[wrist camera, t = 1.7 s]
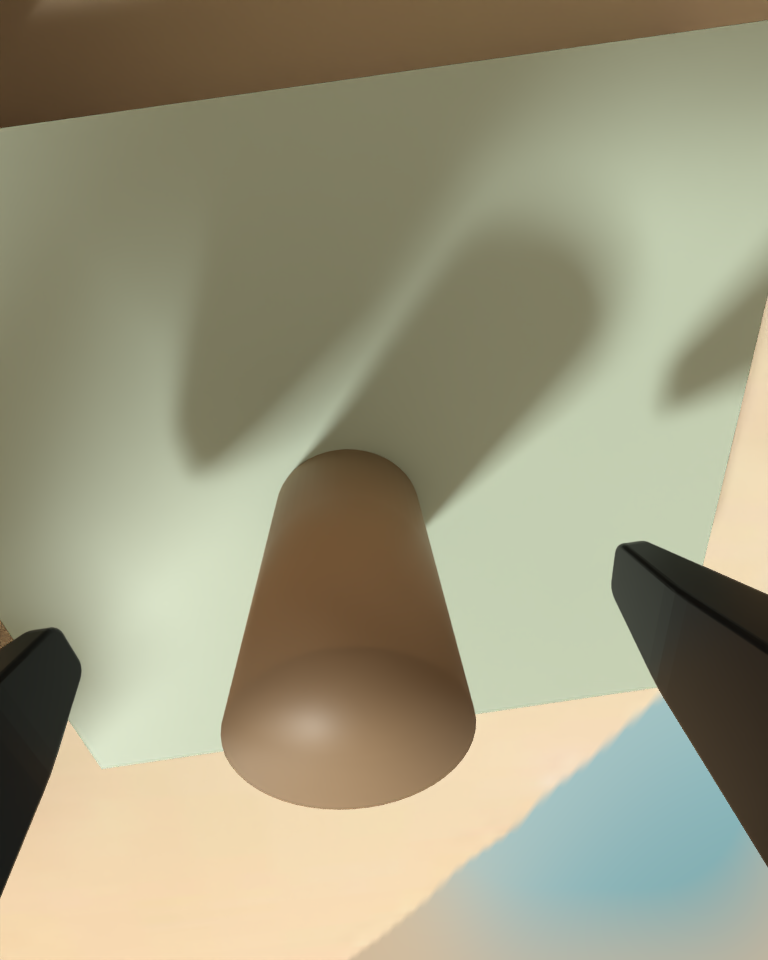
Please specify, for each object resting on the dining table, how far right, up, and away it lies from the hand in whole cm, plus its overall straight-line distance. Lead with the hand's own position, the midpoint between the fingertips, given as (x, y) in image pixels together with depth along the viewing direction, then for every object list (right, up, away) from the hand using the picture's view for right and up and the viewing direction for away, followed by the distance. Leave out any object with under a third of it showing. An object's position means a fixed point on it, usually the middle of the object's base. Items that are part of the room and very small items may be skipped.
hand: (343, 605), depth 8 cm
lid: (0, +3, +5) cm, 6 cm away
